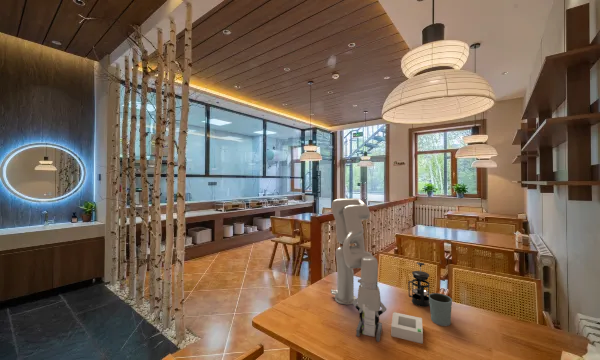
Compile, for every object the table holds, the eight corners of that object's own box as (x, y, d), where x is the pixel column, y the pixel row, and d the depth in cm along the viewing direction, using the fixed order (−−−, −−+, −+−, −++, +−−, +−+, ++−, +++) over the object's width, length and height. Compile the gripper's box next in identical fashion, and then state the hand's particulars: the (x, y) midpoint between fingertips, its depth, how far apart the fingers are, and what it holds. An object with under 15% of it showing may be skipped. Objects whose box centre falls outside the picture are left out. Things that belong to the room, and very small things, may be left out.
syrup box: (363, 327, 120) (363, 297, 120) (376, 330, 118) (376, 299, 117) (361, 334, 114) (361, 303, 114) (375, 337, 112) (375, 305, 112)
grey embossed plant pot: (455, 328, 119) (455, 303, 119) (432, 325, 121) (432, 301, 121) (447, 316, 129) (447, 293, 129) (426, 314, 131) (426, 291, 131)
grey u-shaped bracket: (356, 335, 114) (356, 329, 113) (360, 324, 123) (360, 318, 123) (379, 341, 109) (379, 335, 109) (381, 329, 118) (381, 322, 118)
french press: (428, 299, 146) (428, 261, 146) (433, 308, 137) (432, 266, 137) (407, 297, 149) (407, 259, 149) (410, 305, 140) (410, 264, 140)
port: (391, 335, 113) (391, 324, 113) (393, 320, 125) (393, 310, 125) (422, 343, 108) (422, 332, 108) (421, 327, 120) (421, 316, 120)
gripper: (348, 283, 116) (349, 321, 116) (387, 290, 109) (387, 331, 109) (352, 277, 123) (352, 313, 123) (389, 283, 116) (389, 322, 116)
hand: (369, 321), depth 116 cm, fingers closed on syrup box, 5 cm apart
